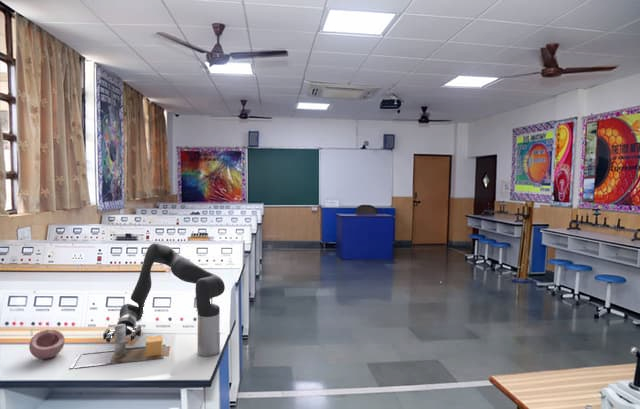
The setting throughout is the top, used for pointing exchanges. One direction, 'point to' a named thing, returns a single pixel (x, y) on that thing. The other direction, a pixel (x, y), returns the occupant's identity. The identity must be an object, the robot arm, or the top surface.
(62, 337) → the pink round bowl
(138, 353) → the grey post on base
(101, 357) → the top surface
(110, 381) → the top surface
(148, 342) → the cube
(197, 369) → the top surface
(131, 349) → the track
